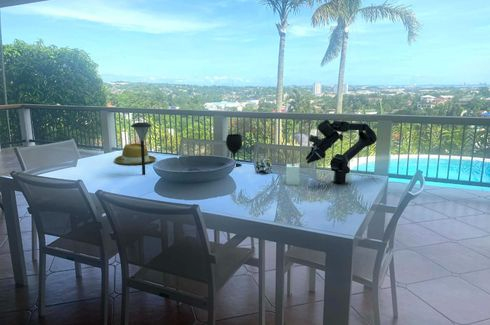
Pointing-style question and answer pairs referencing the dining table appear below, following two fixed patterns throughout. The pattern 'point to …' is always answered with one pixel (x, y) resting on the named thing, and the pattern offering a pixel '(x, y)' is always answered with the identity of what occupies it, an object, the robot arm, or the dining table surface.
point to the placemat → (301, 183)
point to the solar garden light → (142, 139)
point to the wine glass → (234, 144)
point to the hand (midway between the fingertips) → (306, 161)
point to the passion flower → (264, 165)
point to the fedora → (133, 155)
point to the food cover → (292, 174)
